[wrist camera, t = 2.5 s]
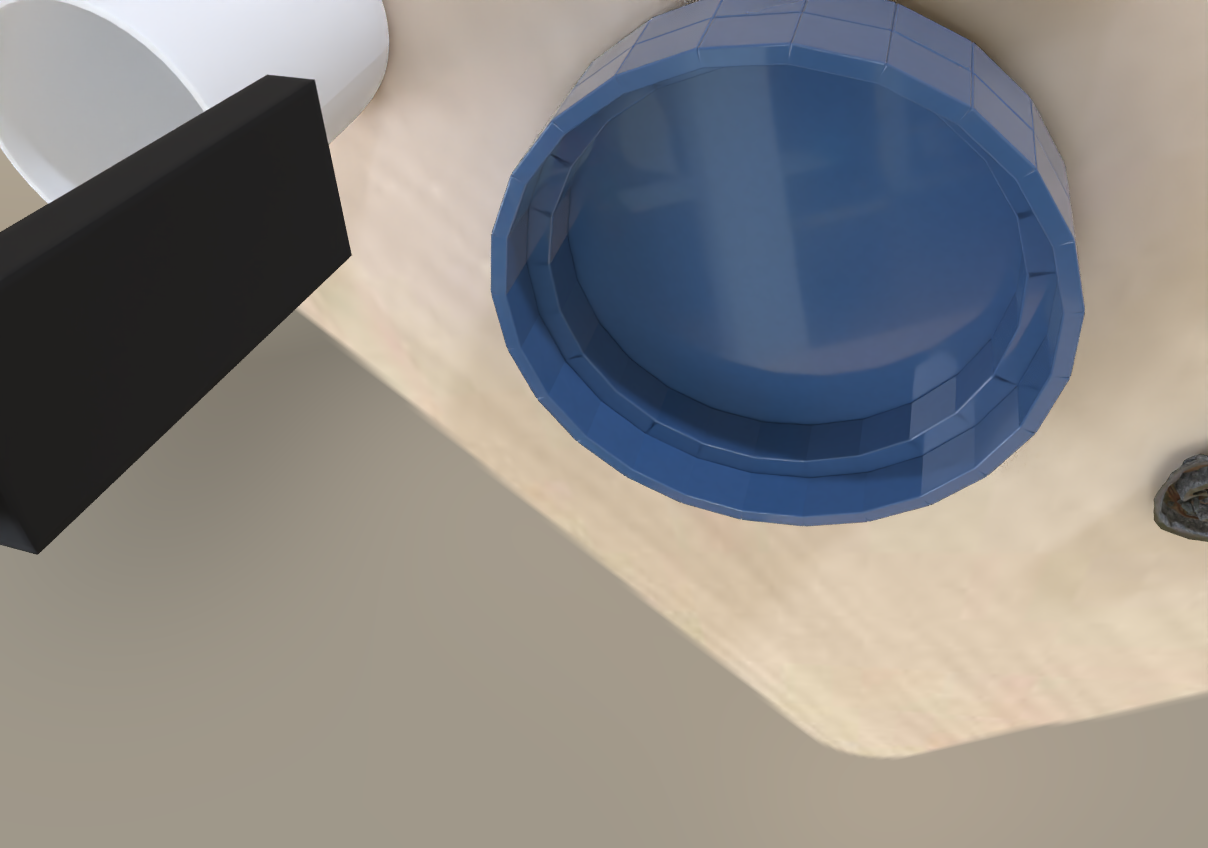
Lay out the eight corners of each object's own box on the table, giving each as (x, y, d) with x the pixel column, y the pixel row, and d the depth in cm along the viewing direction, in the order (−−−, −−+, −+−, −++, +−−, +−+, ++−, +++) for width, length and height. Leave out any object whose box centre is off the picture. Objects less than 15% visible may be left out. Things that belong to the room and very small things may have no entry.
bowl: (454, 246, 39) (403, 318, 35) (765, -172, 26) (732, -122, 22) (792, 500, 44) (776, 585, 40) (1201, 257, 30) (1229, 353, 27)
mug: (64, -69, 34) (-177, 43, 27) (124, -282, 28) (-159, -211, 21) (337, 157, 37) (187, 309, 30) (438, 7, 32) (284, 150, 25)
